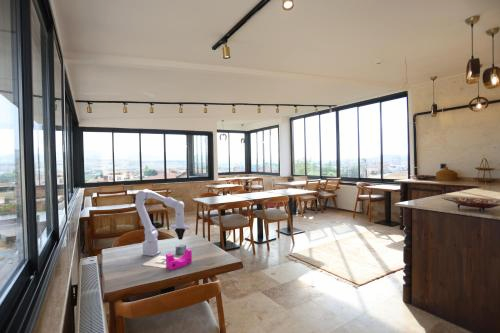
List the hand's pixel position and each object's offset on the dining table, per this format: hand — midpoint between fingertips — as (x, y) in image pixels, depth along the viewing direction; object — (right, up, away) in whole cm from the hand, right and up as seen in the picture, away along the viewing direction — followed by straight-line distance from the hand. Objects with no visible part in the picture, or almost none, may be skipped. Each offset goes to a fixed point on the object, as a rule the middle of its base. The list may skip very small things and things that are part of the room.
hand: (180, 239), depth 188 cm
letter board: (-8, -10, -15) cm, 20 cm away
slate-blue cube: (0, -10, 0) cm, 10 cm away
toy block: (+5, -10, -21) cm, 24 cm away
